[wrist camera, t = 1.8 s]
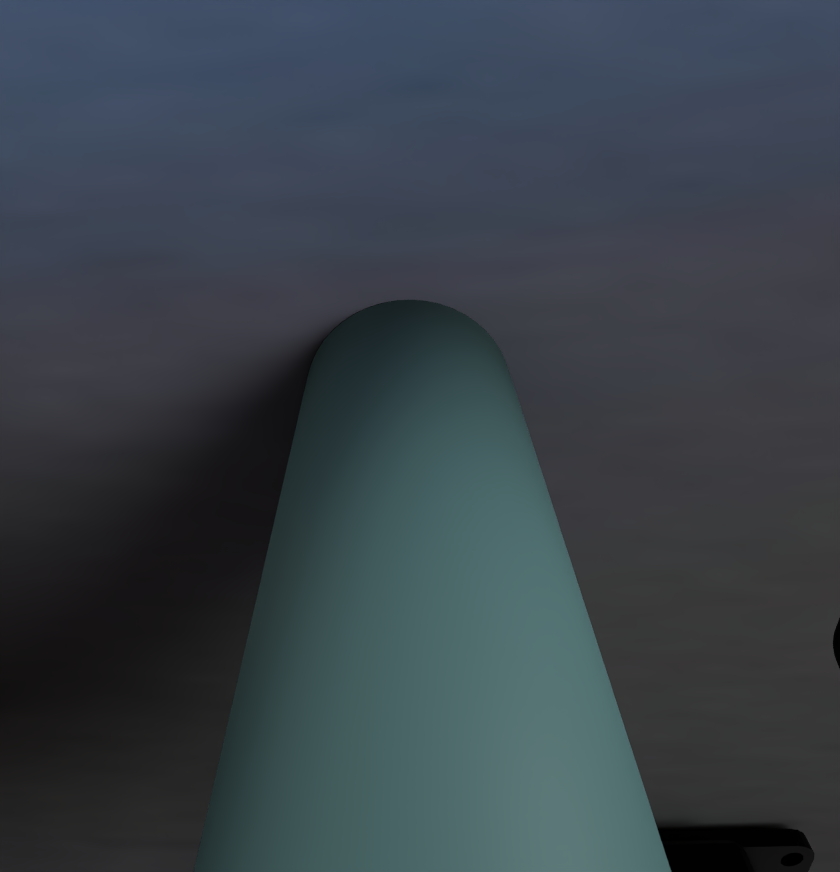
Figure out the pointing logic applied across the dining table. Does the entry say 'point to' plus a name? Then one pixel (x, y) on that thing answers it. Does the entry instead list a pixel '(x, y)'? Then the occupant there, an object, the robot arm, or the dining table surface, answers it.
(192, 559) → the dining table surface
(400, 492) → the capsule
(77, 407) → the dining table surface
